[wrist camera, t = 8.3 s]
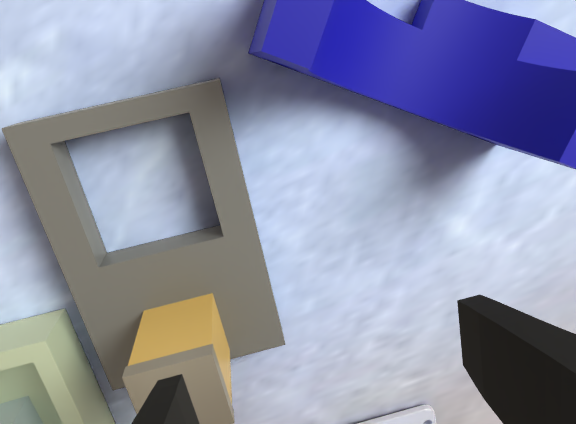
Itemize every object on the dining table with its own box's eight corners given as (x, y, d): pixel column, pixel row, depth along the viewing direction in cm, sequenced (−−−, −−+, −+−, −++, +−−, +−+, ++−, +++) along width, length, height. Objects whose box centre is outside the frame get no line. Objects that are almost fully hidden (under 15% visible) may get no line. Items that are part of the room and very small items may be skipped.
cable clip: (539, 47, 20) (664, 42, 14) (494, 143, 21) (593, 174, 16) (284, -66, 17) (316, -126, 12) (247, 53, 18) (260, 51, 13)
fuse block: (281, 326, 23) (301, 414, 17) (119, 369, 22) (86, 474, 16) (219, 78, 18) (220, 87, 13) (18, 122, 18) (-71, 152, 12)
